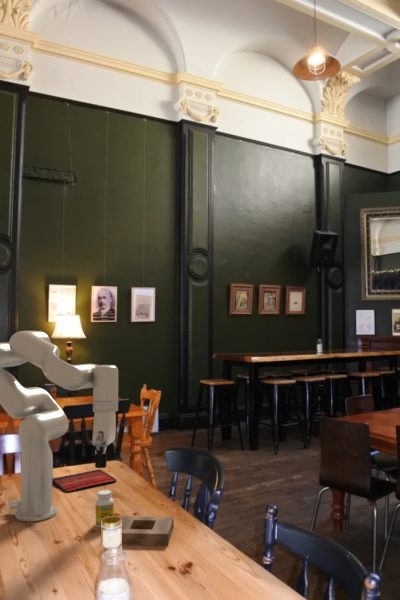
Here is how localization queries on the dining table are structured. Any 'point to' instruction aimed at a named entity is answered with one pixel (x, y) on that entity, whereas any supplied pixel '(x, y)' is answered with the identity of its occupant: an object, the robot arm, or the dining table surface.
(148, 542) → the socket block
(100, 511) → the supplement bottle
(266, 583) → the dining table surface
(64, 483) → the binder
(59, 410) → the robot arm
